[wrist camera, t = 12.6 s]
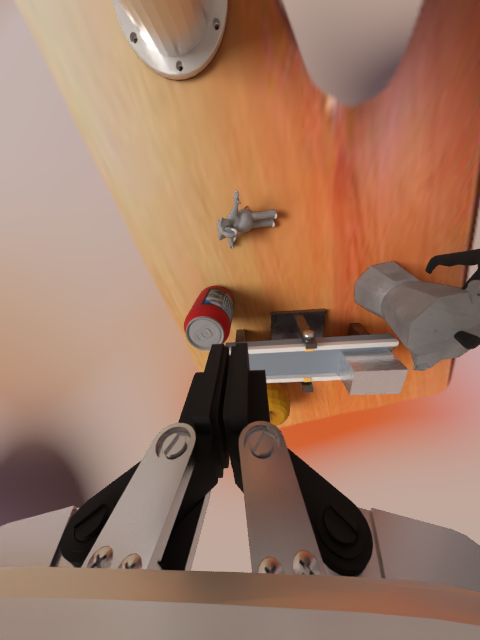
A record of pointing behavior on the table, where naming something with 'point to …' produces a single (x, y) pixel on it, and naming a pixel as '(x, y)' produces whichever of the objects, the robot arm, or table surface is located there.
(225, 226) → the elephant figurine
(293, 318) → the stand
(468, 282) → the coffeepot
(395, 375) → the rider
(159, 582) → the robot arm
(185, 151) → the table surface
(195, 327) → the beverage can
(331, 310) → the table surface
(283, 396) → the apple
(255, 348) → the beam
